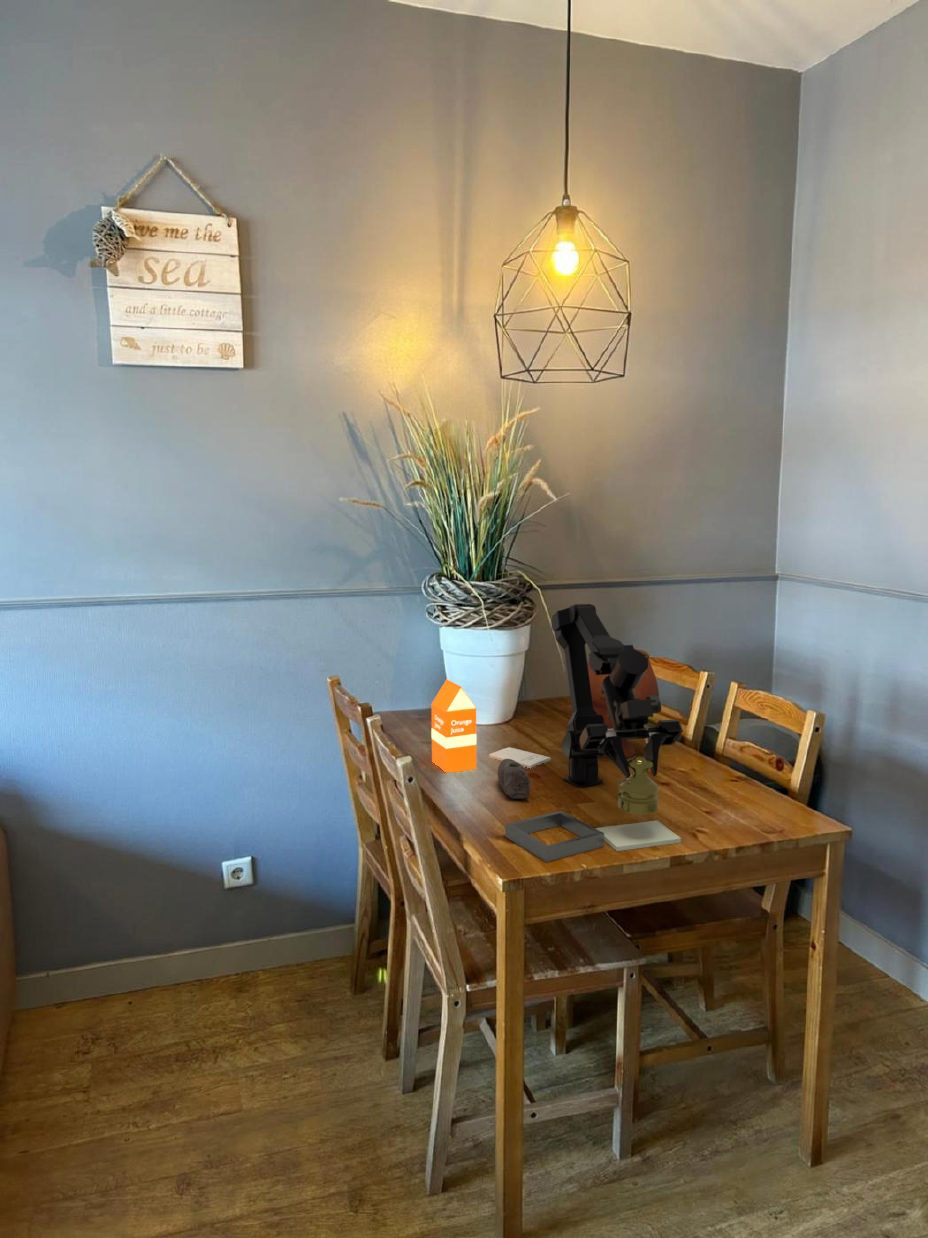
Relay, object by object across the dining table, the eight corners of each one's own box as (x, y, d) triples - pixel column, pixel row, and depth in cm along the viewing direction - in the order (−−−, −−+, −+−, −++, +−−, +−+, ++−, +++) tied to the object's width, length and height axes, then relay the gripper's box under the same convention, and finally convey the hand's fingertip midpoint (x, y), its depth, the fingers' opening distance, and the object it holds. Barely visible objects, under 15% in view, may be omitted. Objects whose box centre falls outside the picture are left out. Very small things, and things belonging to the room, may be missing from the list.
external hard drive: (509, 753, 218) (551, 763, 210) (488, 760, 212) (530, 771, 204) (509, 746, 218) (551, 756, 210) (488, 754, 211) (530, 764, 203)
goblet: (575, 763, 208) (576, 659, 204) (579, 739, 226) (581, 644, 222) (658, 767, 204) (661, 662, 200) (655, 743, 223) (658, 646, 219)
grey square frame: (505, 836, 165) (505, 824, 165) (560, 822, 172) (561, 810, 171) (546, 862, 154) (546, 848, 154) (604, 846, 161) (604, 833, 160)
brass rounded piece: (643, 798, 169) (645, 748, 167) (666, 812, 162) (668, 759, 160) (610, 803, 166) (611, 752, 164) (631, 817, 159) (633, 764, 157)
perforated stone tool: (492, 780, 196) (492, 750, 195) (515, 779, 197) (515, 749, 196) (507, 805, 181) (507, 772, 180) (532, 803, 182) (532, 771, 181)
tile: (616, 851, 158) (617, 847, 158) (595, 832, 167) (595, 828, 167) (681, 842, 162) (681, 838, 162) (656, 824, 171) (656, 820, 171)
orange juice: (445, 774, 200) (445, 688, 197) (431, 763, 208) (430, 680, 205) (477, 769, 203) (477, 685, 200) (461, 758, 211) (461, 677, 208)
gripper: (585, 682, 162) (605, 759, 153) (680, 678, 166) (705, 752, 157) (571, 712, 171) (589, 786, 162) (661, 707, 175) (683, 780, 166)
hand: (641, 776), depth 162 cm, fingers closed on brass rounded piece, 5 cm apart
